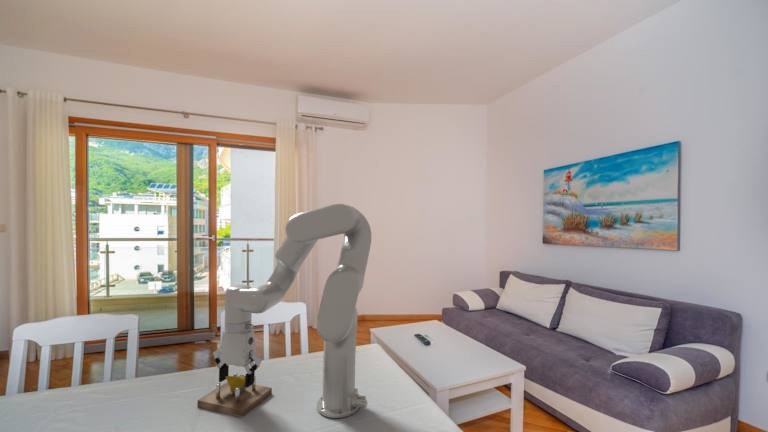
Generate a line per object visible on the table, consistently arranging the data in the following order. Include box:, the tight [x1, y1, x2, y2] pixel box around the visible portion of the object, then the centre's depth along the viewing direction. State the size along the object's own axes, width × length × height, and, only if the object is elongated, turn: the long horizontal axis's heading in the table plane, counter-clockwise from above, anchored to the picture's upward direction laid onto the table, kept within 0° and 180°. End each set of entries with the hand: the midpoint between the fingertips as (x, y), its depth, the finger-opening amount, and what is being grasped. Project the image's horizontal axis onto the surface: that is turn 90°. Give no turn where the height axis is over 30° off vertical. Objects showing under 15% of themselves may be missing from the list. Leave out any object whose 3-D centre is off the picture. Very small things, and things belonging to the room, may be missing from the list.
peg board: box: [196, 372, 273, 418], centre depth 98 cm, size 16×13×6 cm
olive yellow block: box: [225, 374, 246, 394], centre depth 98 cm, size 5×5×10 cm
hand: (236, 382), depth 98 cm, fingers open, 9 cm apart
